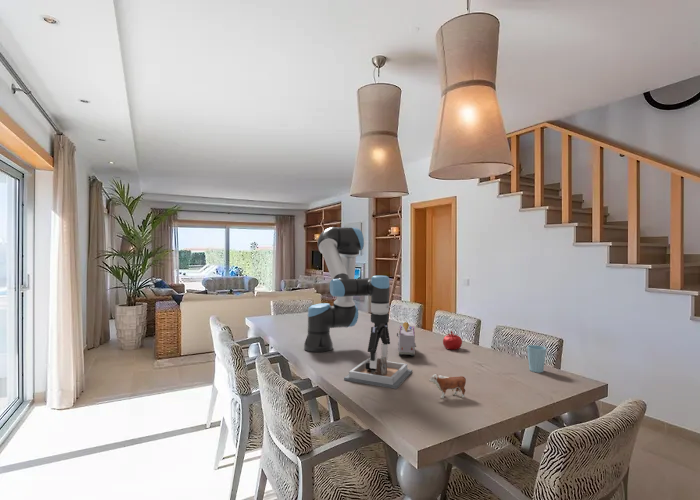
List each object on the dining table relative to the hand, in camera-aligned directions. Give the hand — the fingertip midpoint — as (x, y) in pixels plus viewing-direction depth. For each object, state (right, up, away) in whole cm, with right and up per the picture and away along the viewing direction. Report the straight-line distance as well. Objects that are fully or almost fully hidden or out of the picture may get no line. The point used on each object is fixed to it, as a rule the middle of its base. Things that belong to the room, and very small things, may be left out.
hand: (379, 363), depth 158 cm
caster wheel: (-1, -4, 0) cm, 4 cm away
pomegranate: (+43, -6, +46) cm, 63 cm away
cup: (+70, -6, +9) cm, 71 cm away
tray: (0, -5, 0) cm, 5 cm away
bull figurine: (+23, -6, -22) cm, 32 cm away
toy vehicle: (+17, -6, +36) cm, 40 cm away
